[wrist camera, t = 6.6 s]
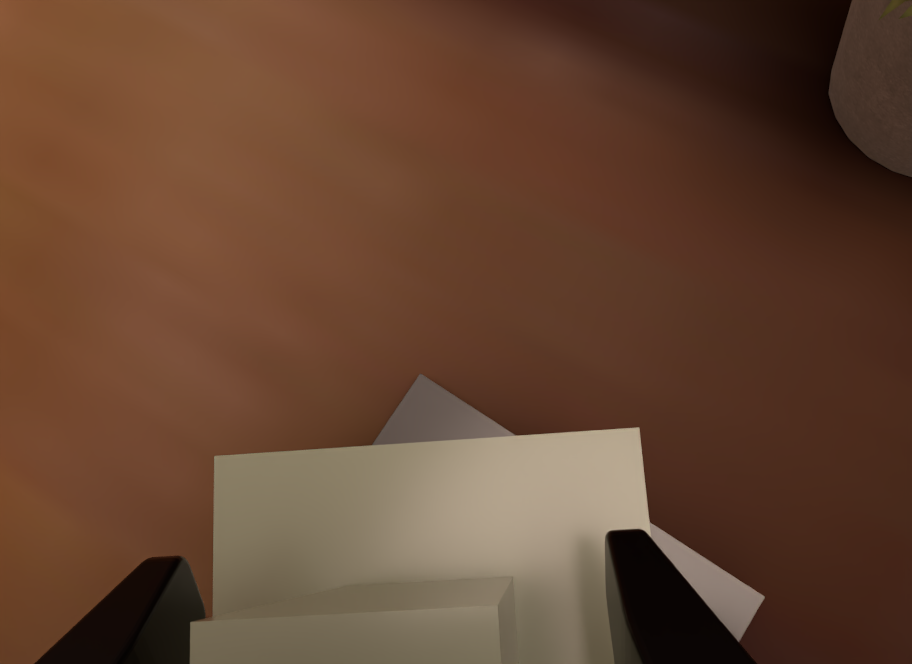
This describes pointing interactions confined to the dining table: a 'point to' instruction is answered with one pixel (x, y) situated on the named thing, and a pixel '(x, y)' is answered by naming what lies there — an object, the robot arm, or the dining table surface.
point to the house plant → (876, 81)
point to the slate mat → (450, 418)
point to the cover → (420, 551)
